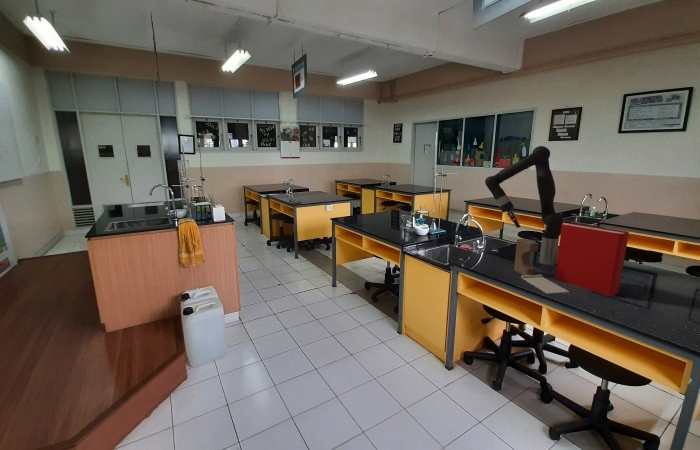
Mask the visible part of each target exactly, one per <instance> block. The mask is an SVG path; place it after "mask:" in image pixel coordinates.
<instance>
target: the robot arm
mask: <svg viewBox="0 0 700 450" xmlns="http://www.w3.org/2000/svg"><path fill="white" fill-rule="evenodd" d="M550 157H551V150H550V149H549V148H548V147H546V146H544V145H537V147H534V148H533V150H532V152H531V153H529V155H527V156H525V157H524V158H523V159H520V160H518V161H516V162H514V163H512V164H509V165H508V166H506V167H505V168H503V169H501V170H499V171H498V173H496V174H494V175H493V176H492V175H490V176H487V177H486V178H485V179H484V183H485V184H484V185H485V186H486V187H487V189H488V190H489V191H490V193H491V194H492V197H493V199H494V200H495V202H496V204H497V205H498V207H499V209H500V211H501V212H502V213H503V214H504V213H506V212H507V214H506V215H507V217H509V220H511V221H512V223H513V224H514V225H515V227H516V228H517V229H520V228H521V225H520V223H519V221H518V219H517V216H516V215H515V212H514V211H512V209H514V208H515V206H514V204H513V203H512V201H511V199H510V197H509V196H508V195H507V194H506V192H505V190H504V189H503V188H502V187H501V186H500V185H501V184H502V183H503V182H504V181H507V180H509V179H511V178H513V177H514V176H516V175H518V174H519V173H522V172H523V171H525V170H527V169H529V168H531V167H533V166H535V172H536V184H537V185H536V186H537V192H538V198H539V202H540V208H541V210H540V211H541V221H542V223H543V224H544V226H546V229H545V231H543V232H542V236H541V245H540V252H539V263H540V264H543V265H546V266H556V265H557V258H558V250H559V243H560V235H561V227H562V224H564V217H563V216H562V215H561V213H558V212H556V209H555V204H554V202H555V201H554V200H555V197H556V190H557V189H556V184H555V180H554V176H553V173H552V171H551V168H550V167H551V166H550Z"/></svg>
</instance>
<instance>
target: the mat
mask: <svg viewBox="0 0 700 450" xmlns="http://www.w3.org/2000/svg"><path fill="white" fill-rule="evenodd" d="M520 278H521V279H522V280H524V281H525V280H526V281H525V282H527V283H529V284H530V285H532V286H533V285H534V287H535V288H537V289H538V290H540V291H542V292H544V293H545V294H547V295H552V294H569V293H570V291H569V290H567V289H566V288H564V287H563V286H560V285H558V284H556V283H554V282H552V281H551V280H549V279H547V278H546V277H543V274H542V273H540V274H539V273H538V274H535V275H522V274H520Z"/></svg>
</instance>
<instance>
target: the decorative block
mask: <svg viewBox="0 0 700 450" xmlns="http://www.w3.org/2000/svg"><path fill="white" fill-rule="evenodd" d="M515 245H516V246H515V258H514V266H513V267H514V268H513V271H514V272H516V273H517V274H520V275H536V268H535V267H534V266H533V265H532V264H531V262H530V255H531V254H532V253H534V252H538V249H539V243H538V242H536V241H532V240H530V239H526V238H519V239H516V244H515Z"/></svg>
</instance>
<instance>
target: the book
mask: <svg viewBox="0 0 700 450" xmlns="http://www.w3.org/2000/svg"><path fill="white" fill-rule="evenodd" d="M629 236H630V232H629V231H628V230H622V229H614V228H609V227H602V226H601V227H600V226H596V225H589V224H583V223H576V222H569V224H564V223H563V224H562V227H561V234H560V236H559V243H558V249H559V250H558V258H557V264H556V265H555V266H556V267H555V274H554V275H555V276H554V280H557V279H558V280H557V281H559V282H563V283H566V284H569V285H574V286H576V287H580V288H582V289H586V290H590V291H591V292H592V291H593V292H596V293H598V294H603V295H606V296H609V297H610V296H611V297H615V296H616V295H618V294H619V293H620V285H621V282H622V281H621V280H622V275H623V268H624V263H625V257H626V251H627V246H628V241H629Z"/></svg>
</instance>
